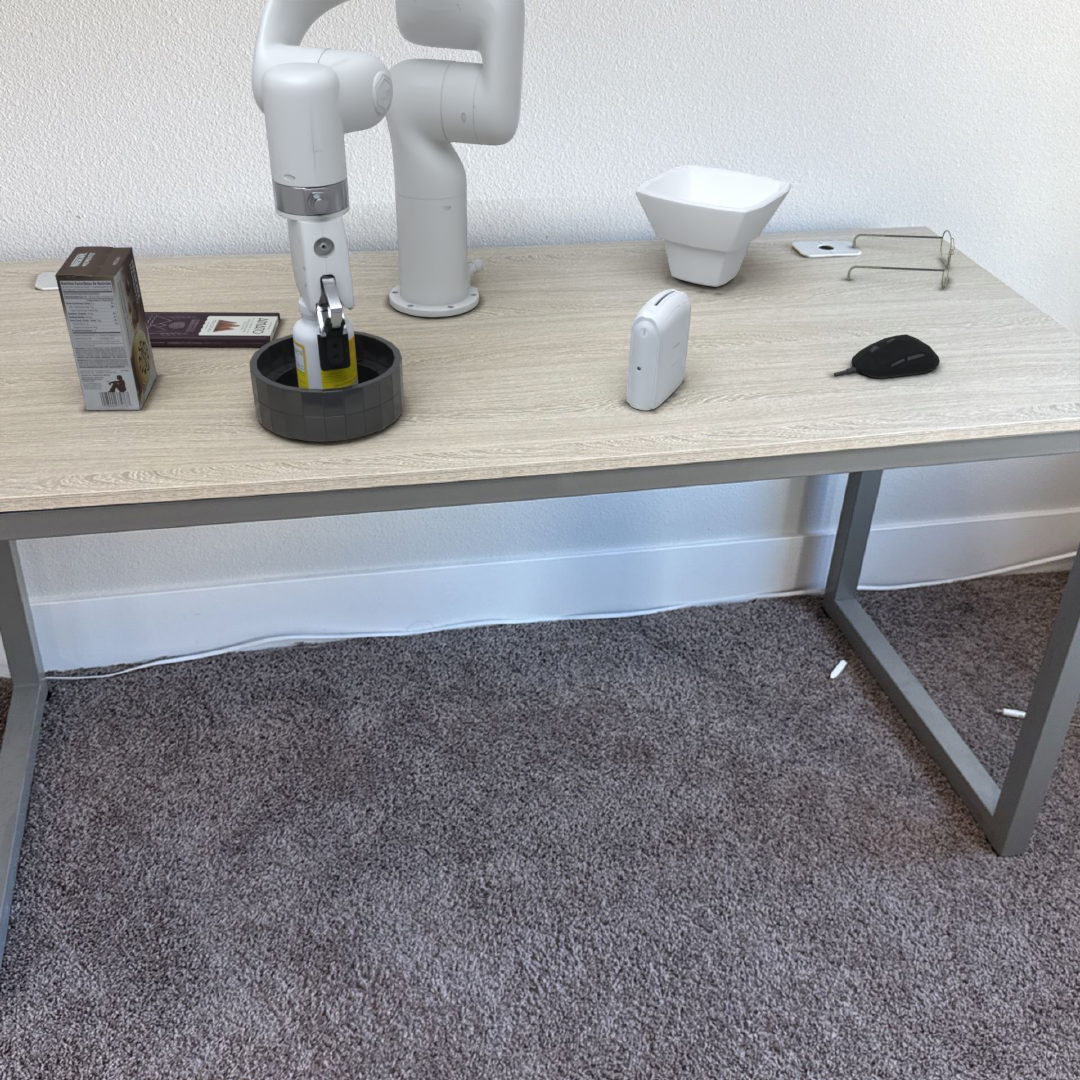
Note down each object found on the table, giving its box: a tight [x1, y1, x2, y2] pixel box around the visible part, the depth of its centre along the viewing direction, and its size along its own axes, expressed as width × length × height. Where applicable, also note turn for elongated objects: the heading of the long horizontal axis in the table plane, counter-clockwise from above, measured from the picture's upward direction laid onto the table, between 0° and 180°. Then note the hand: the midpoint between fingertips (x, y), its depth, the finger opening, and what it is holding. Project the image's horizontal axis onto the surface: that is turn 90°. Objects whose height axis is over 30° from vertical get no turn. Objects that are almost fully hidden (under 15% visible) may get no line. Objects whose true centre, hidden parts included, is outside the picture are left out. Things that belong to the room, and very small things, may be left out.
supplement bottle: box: [292, 297, 358, 389], centre depth 121 cm, size 7×7×13 cm
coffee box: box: [54, 245, 158, 411], centre depth 123 cm, size 9×6×16 cm
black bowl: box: [249, 330, 405, 443], centre depth 123 cm, size 17×17×6 cm
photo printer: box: [625, 288, 692, 412], centre depth 127 cm, size 10×4×12 cm, turn 151°
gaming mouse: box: [833, 333, 941, 379], centre depth 137 cm, size 6×15×4 cm, turn 110°
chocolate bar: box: [145, 311, 281, 348], centre depth 142 cm, size 9×1×18 cm
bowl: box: [635, 163, 792, 288], centre depth 159 cm, size 19×19×14 cm
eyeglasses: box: [846, 229, 955, 288], centre depth 168 cm, size 16×15×5 cm
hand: (326, 350), depth 121 cm, fingers open, 9 cm apart
